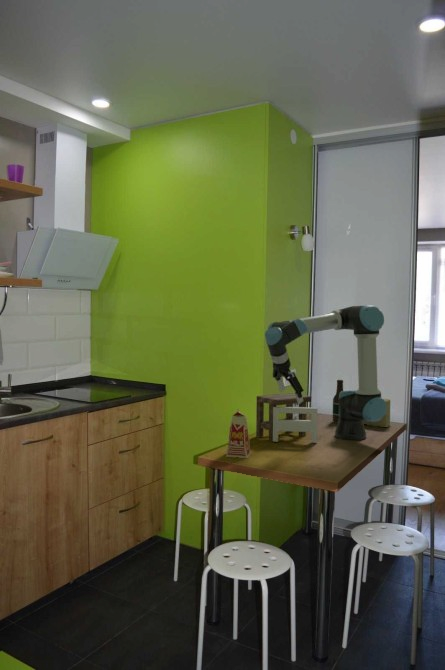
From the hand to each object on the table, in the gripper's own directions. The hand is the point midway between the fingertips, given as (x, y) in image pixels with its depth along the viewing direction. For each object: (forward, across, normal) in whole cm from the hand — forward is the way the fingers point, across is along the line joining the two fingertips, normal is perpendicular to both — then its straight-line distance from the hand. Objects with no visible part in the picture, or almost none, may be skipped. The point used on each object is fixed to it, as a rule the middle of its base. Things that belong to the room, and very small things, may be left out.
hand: (291, 396), depth 245 cm
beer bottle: (+55, -22, +36) cm, 70 cm away
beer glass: (+48, -35, +16) cm, 62 cm away
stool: (+25, -8, -7) cm, 27 cm away
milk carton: (+2, +10, -38) cm, 39 cm away
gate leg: (+20, +4, -8) cm, 22 cm away
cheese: (+56, -9, +46) cm, 73 cm away
